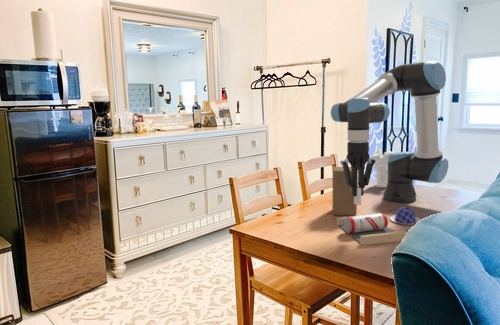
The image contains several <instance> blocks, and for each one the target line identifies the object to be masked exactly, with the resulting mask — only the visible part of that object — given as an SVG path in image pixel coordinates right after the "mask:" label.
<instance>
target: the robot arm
mask: <svg viewBox="0 0 500 325" xmlns="http://www.w3.org/2000/svg"><path fill="white" fill-rule="evenodd" d="M446 81H447V75H446V71H445V68H444V66H443V65H442V64H441V63H440V62H438V61H422V62H416V63H415V62H414V63H404V64H401V65H398V66H395V67H394V68H391V69H389V70H388V71H386V72H384V73H383V74H381V75H380V76H379V77H378V78H377V80H376V81H375V82H373V83H372V84H371V85H369V86H368V87H366V88H364V89H363V90H362V91H359V92H357V94H356V95H354V96H352V97H350V99H348V100H346V101H344V102H339V103H338V102H337V103H335V104H333V105H332V107H331V109H330V116H331V119H332V120H333V121H334V122H337V123H347V141H348V142H347V155H346V157H345V159H344V160H340V164H341V167H343V169H344V174H345V178H346V182H347V185H348V186H350V187H352V195H353V196H354V204H356V205H357V206H361V205H362V196H364V188H365V187H367V186H368V185H369V183H370V179H371V175H372V171H373V169H374V166H375V162H376V160H374V159H371V157H370V154H369V151H370V142H369V140H370V124H377V123H378V124H379V123H383V122H385V121H387V119H388V118H389V116H390V114H391V112H390V107H389V105H387V103H385V102H380V100H382V99H383V98H385V97H386V96H388V95H393V94H395V93H396V92H404V91H405V92H410V97H412V98H413V99H414V109H415V110H414V111H415V127H416V145H417V146H416V147H417V148H416V149H417V150H416V151H415V152H413V151H400V152H399V151H397V152H393V153H392V154H390V155H389V156H388V162H387V163H388V180H387V185H386V187H384V188H385V189H384V191H383V197H382V198H383V199H384V200H385V201H388V202H393V203H394V202H395V203H411V202H415V201H417V193H416V190H415V187H414V186H415V185H414V181H419V182H426V183H430V184H439V183H442V181H443V180H444V179H445V178H446V176H447V173H448V170H449V161H448V158H446V157H444V156H443V151H441V150H440V149H439V133H438V132H439V124H438V103H437V102H438V101H437V100H438V99H437V97H438V96H439V95H440V94H441V90H443V89H444V88H445V85H446ZM349 164H350V166H349ZM349 167H351V169H352V179H351V174H350V170H349Z"/></svg>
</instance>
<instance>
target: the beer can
mask: <svg viewBox="0 0 500 325" xmlns="http://www.w3.org/2000/svg"><path fill="white" fill-rule="evenodd" d="M344 217H345V219H344V220H343V227H344V230H345V231H346V232H347V233H346V232H345V231H344V230H343V231H344V232H345V233H346V234H348V233H357V232H365V231H373V230H380V229H383V228H385V227H388V224H389V219H388V216H386V214H384V213H380V212H378V213H377V212H376V213H369V214H360V215H355V216H344Z"/></svg>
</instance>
